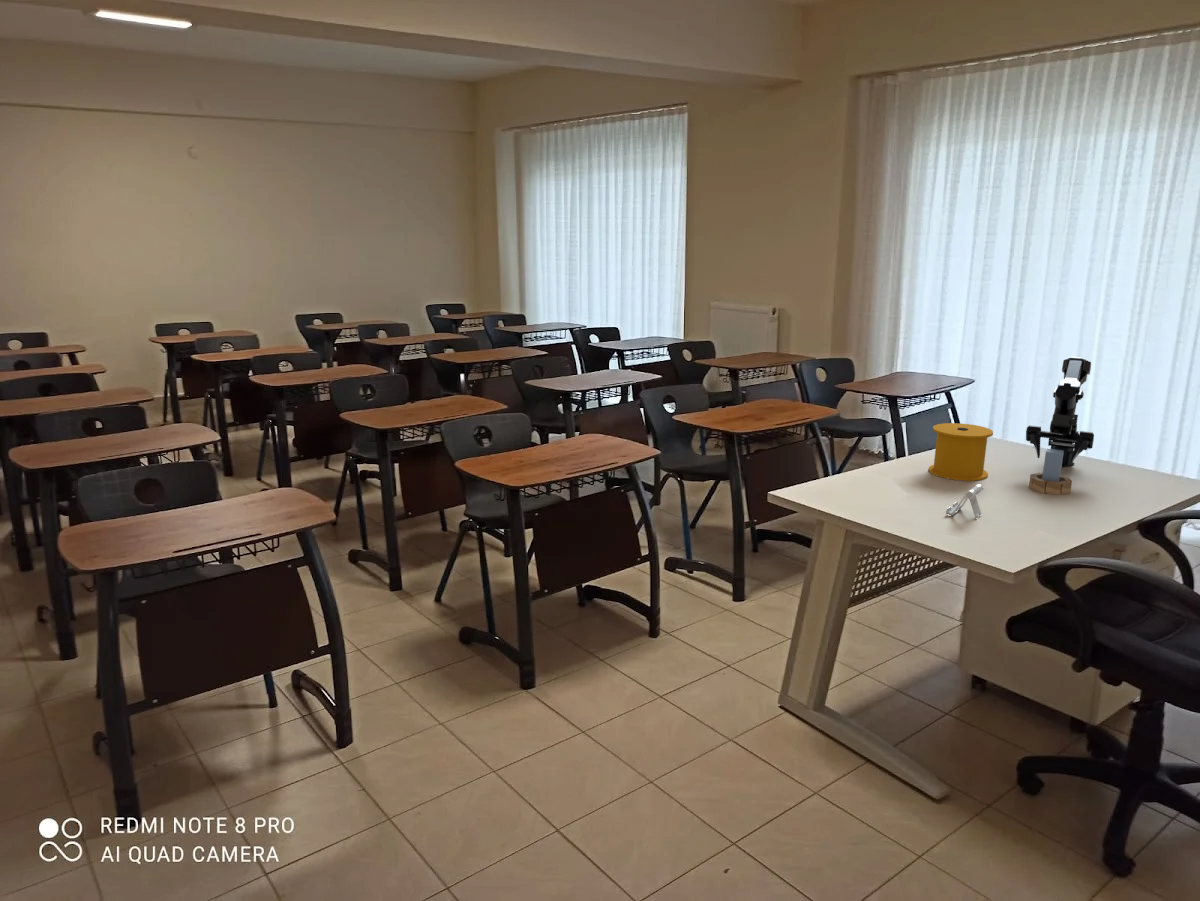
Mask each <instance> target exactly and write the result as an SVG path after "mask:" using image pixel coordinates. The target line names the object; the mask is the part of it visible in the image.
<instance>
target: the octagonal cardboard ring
mask: <svg viewBox="0 0 1200 901" xmlns="http://www.w3.org/2000/svg"><path fill="white" fill-rule="evenodd" d="M1042 476H1043V472H1036V473H1031V474H1030V475H1029V482H1028V483H1029V485H1028V486H1029V488H1030V489H1031V490H1032V489H1033V490H1032V491H1035V490H1036V491H1035V492H1039V493H1042V494H1051V495H1059V496H1060V495H1066V494H1071V490H1072V485H1073V481H1072V479H1071V478H1070V477H1068V476H1065V475H1061V474H1060V480H1059V482H1055V481H1046V480H1043V479H1042Z"/></svg>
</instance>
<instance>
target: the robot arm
mask: <svg viewBox="0 0 1200 901" xmlns="http://www.w3.org/2000/svg"><path fill="white" fill-rule="evenodd" d="M1091 370H1092V362H1091V360H1090V361H1089V360H1087V359H1086V358H1084V357H1081V356H1080V357H1079V356H1078V357H1077V356H1069V357H1068V358H1066V359H1063V361H1062V368H1061V373H1063V379H1062V380H1060V381H1059V382H1058V384H1057V386H1055V388H1054V391H1053V393H1052V396H1053V398H1054V406H1055V407H1054V412H1053V414H1052V419H1051V421H1050V426H1049V431H1045V430H1042V426H1037V425H1031V424H1030V425H1028V426H1027V427H1026V430H1025V440H1026V441H1027V442H1029V443H1030V444H1031V445H1033V446H1034V449H1035V452H1036V456H1037V459H1039V458H1040V456H1041V438H1043V439H1048V444H1047V446H1049V447H1050V449H1054V450H1063V451H1064V453H1063V460H1062V467H1067V466H1074V465H1075V462H1074V461H1075V460H1076V458H1077V457H1079V455H1080V454H1081V453H1082V452H1084V451H1088V449H1089V450H1090V449H1093V446H1094V439H1095V434H1094V432H1092V431H1085V430H1083V431H1082V430H1080V431H1079V430H1078V418H1079V415H1078V414H1077V413H1076V408H1077V404H1078V403H1079V401H1081V400H1082V399H1083V398H1084V395H1085V392H1084V391H1083V388H1081V386H1083V384H1085V382H1087V379H1088V375H1090V374H1091Z"/></svg>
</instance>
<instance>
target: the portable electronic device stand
mask: <svg viewBox="0 0 1200 901" xmlns="http://www.w3.org/2000/svg"><path fill="white" fill-rule="evenodd" d="M983 489H984V488H983V485H982V484H979V483H978V484H975V485H974V486H973V487H971V488H970V489H969V490H967V491H966V492H965V493H964V495H963V496H962V497H961V498H962V499H960V501H957V500H956V501H955V502H953V503H952V505H950V506H949V507H947V508H946V510H945V514H949V515H953V516H954V515H955V514H956V513H958V512H959V511H961V508H963V507H964V506H965V504H966V503H967V500H969V502H970V506H971V509H972V512H973V515H974V518H975V519H976V518H978V519H979V515H981V514H982V512H981V511H982V510H981V508H980V505H979V501H978V499H977V495H978V494H979V493H981V492H982V491H983ZM958 510H959V511H958Z"/></svg>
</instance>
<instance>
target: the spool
mask: <svg viewBox="0 0 1200 901" xmlns="http://www.w3.org/2000/svg"><path fill="white" fill-rule="evenodd" d="M932 431H933V432H935V433H936V439H935V440H936V441H935V449H934V450H935V451H934V460H933V464H931V465H929V466H928V472H929V473H930V474H931V473H932V474H931V475H933V474H934V475H933V476H935V475H937V476H936V477H938V476H940V477H939V478H941V477H944V478H943V479H946V478H949V479H948V480H951V479H954V480H953V481H959V480H963V481H962V482H977V480H978V481H983V480H985V479H988V477H989V472H987V471H986V470H985V469H984V468H985V460H986V454H987V453H986V452H987V446H988V445H987V443H988V438H990V437H992V436H993V435H994V431H993V430H992V429H990V428H987V427H986V426H981V425H976V424H970V423H962V422H961V423H957V422H956V423H955V422H954V423H953V422H949V423H948V422H944V423H938V424H935V425H933V426H932ZM982 479H983V480H982Z"/></svg>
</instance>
